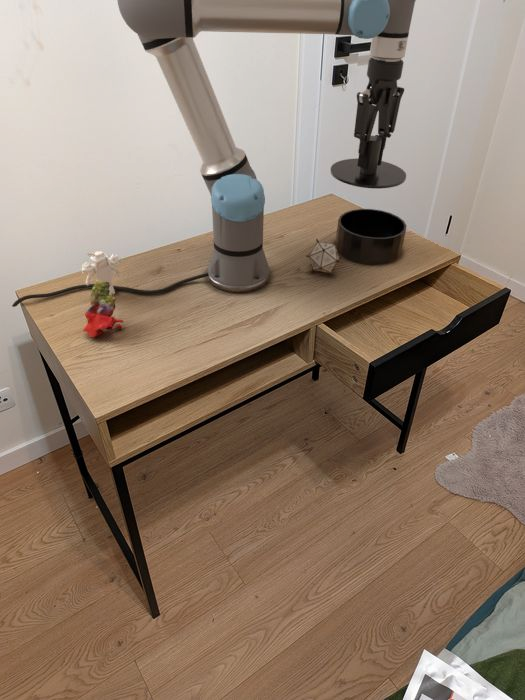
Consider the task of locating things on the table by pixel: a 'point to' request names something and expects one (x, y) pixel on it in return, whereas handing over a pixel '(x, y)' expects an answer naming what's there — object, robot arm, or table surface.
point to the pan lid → (369, 170)
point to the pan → (370, 236)
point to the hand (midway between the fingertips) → (369, 165)
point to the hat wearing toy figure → (102, 268)
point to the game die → (324, 257)
